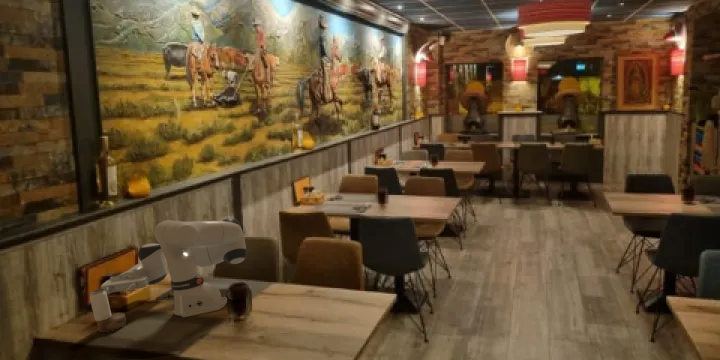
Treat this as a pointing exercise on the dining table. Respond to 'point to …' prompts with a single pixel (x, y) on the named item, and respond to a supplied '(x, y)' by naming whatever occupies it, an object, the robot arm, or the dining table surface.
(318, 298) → the dining table surface
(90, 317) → the dining table surface
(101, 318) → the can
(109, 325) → the brown rounded flat block
